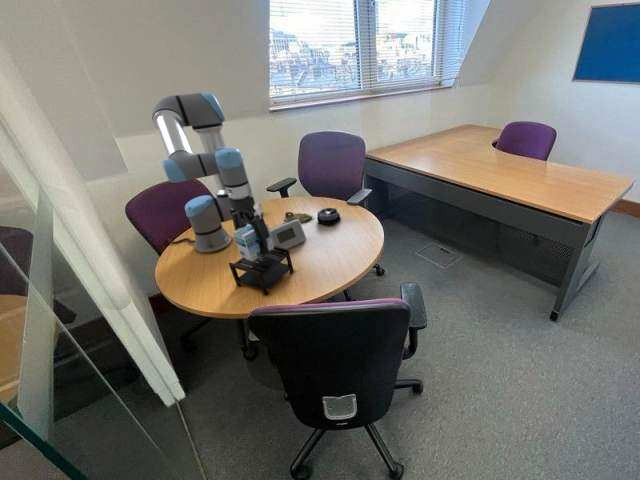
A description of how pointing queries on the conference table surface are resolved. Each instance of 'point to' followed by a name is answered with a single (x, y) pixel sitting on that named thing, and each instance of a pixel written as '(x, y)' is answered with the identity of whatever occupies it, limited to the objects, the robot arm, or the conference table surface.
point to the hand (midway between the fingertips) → (257, 251)
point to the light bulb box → (250, 242)
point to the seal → (297, 217)
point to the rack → (263, 269)
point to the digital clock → (288, 234)
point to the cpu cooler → (328, 216)
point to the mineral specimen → (258, 208)
